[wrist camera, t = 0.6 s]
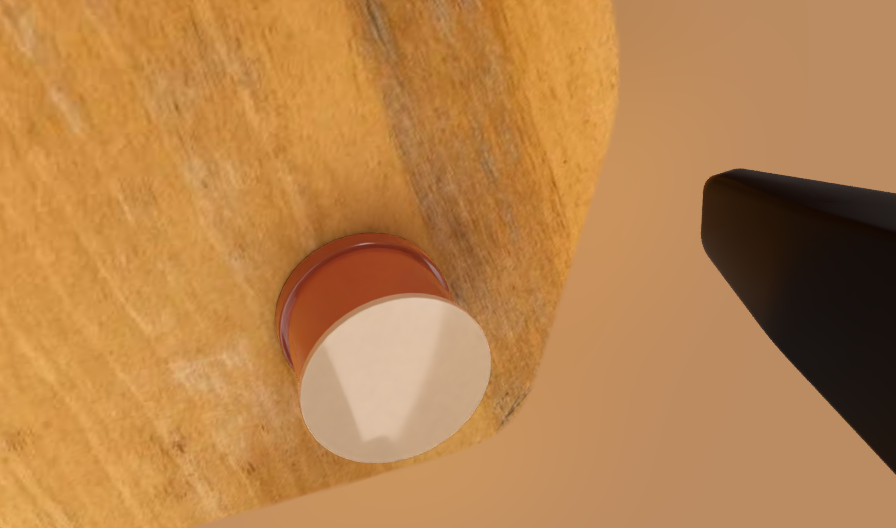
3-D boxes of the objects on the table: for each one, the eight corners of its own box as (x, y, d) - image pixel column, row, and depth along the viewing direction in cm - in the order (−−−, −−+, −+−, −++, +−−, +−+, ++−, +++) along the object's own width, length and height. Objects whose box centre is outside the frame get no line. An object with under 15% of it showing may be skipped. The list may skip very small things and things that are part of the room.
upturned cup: (450, 356, 31) (496, 430, 27) (292, 402, 29) (318, 487, 25) (435, 213, 28) (485, 275, 24) (258, 256, 26) (282, 329, 22)
